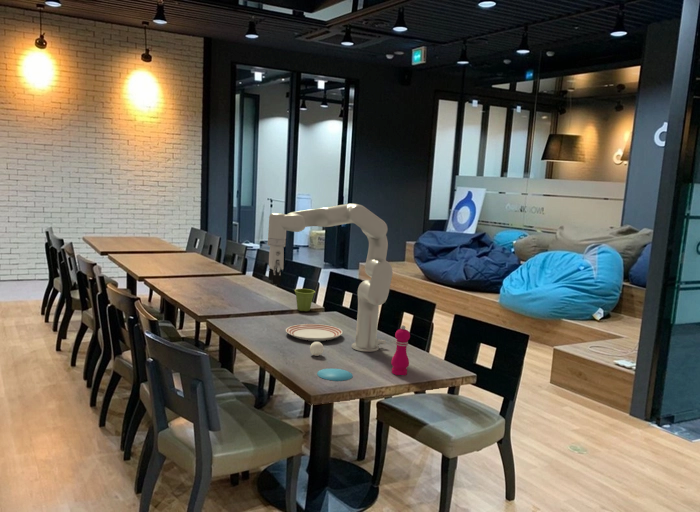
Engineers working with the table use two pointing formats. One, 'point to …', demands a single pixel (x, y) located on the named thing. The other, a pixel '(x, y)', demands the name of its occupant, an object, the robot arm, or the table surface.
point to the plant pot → (304, 299)
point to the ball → (316, 348)
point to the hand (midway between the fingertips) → (274, 282)
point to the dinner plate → (314, 332)
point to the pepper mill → (401, 352)
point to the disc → (334, 374)
